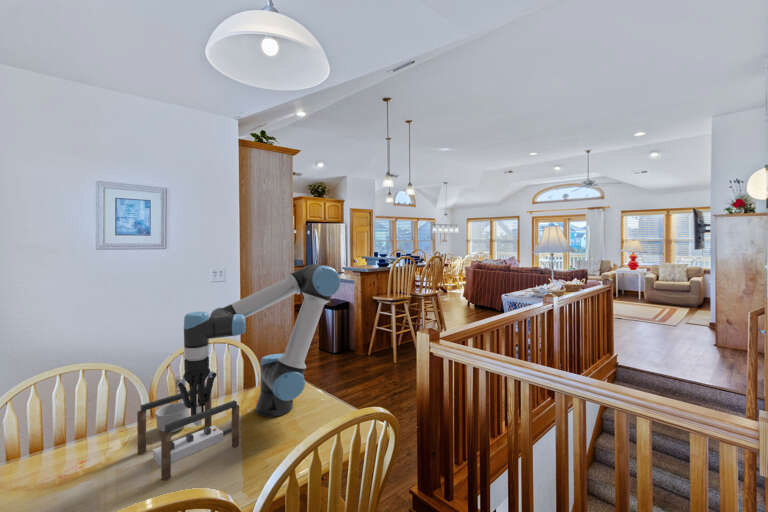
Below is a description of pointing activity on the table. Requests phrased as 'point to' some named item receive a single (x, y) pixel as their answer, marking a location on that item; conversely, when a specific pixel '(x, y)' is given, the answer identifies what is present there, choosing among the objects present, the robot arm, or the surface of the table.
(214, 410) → the cable
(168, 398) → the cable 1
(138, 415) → the posts
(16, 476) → the table surface
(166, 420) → the teacup
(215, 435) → the switch strip
